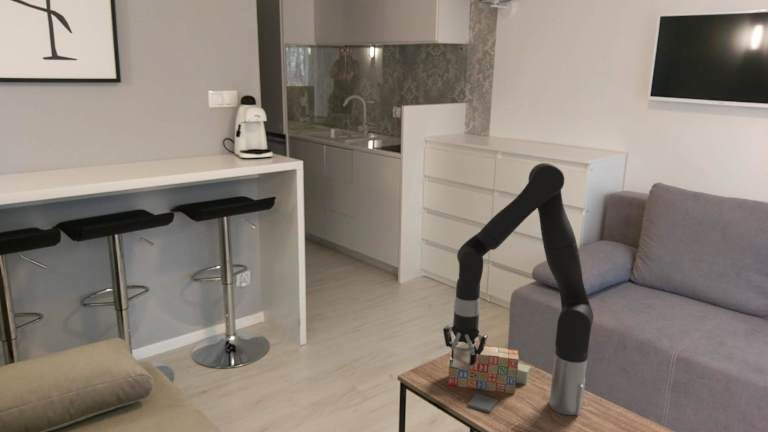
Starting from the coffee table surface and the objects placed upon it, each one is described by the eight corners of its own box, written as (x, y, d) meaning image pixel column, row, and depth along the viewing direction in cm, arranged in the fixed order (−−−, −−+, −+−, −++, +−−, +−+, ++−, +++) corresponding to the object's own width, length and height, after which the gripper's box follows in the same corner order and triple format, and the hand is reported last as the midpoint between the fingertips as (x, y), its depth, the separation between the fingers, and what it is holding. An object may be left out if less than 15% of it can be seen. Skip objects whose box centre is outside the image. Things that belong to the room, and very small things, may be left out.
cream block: (473, 363, 182) (474, 345, 180) (468, 370, 177) (469, 352, 176) (458, 359, 184) (459, 342, 183) (452, 366, 180) (453, 348, 178)
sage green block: (529, 378, 194) (530, 366, 193) (525, 384, 191) (527, 372, 189) (516, 375, 196) (517, 362, 195) (512, 381, 193) (513, 368, 191)
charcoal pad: (497, 402, 180) (497, 399, 179) (489, 413, 174) (490, 410, 173) (475, 395, 183) (475, 393, 183) (467, 406, 177) (467, 403, 177)
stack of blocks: (447, 385, 188) (449, 350, 185) (448, 375, 194) (451, 341, 191) (515, 394, 185) (519, 358, 182) (514, 384, 191) (518, 349, 188)
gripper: (493, 311, 177) (489, 362, 181) (449, 301, 183) (446, 351, 187) (485, 320, 170) (481, 373, 174) (439, 309, 177) (437, 361, 181)
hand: (463, 361), depth 181 cm, fingers closed on cream block, 5 cm apart
